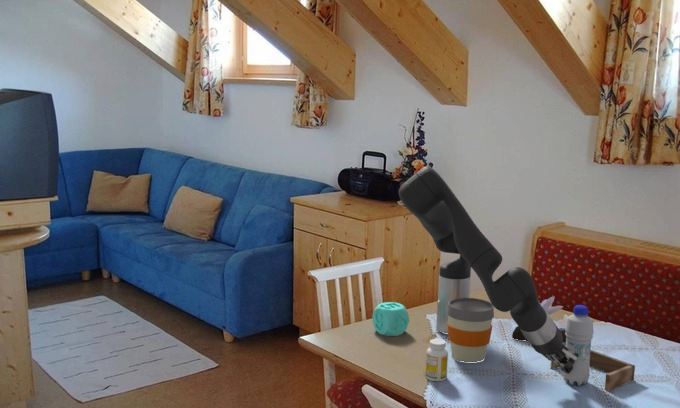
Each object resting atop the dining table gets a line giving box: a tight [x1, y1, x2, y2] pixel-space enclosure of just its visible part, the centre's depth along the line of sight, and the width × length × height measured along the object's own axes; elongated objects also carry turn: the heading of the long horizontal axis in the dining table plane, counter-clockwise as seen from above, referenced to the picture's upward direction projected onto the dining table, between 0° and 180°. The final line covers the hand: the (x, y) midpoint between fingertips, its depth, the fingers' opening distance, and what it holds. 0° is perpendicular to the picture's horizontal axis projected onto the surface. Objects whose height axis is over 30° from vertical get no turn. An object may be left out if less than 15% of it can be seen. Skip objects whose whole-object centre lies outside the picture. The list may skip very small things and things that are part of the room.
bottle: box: [562, 304, 595, 386], centre depth 174 cm, size 7×7×20 cm
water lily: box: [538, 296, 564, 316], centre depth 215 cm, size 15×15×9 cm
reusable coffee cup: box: [447, 297, 495, 362], centre depth 190 cm, size 13×13×15 cm
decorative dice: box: [371, 301, 410, 337], centre depth 209 cm, size 8×8×8 cm
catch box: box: [550, 349, 636, 392], centre depth 180 cm, size 11×17×4 cm, turn 36°
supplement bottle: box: [424, 338, 449, 382], centre depth 176 cm, size 5×5×10 cm
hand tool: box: [511, 325, 566, 343], centre depth 204 cm, size 19×4×5 cm, turn 82°
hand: (568, 369), depth 173 cm, fingers closed
